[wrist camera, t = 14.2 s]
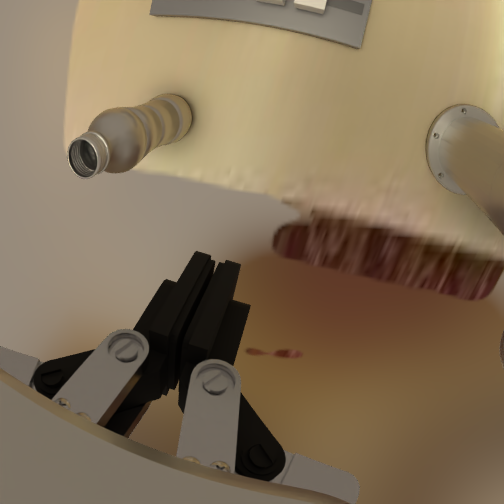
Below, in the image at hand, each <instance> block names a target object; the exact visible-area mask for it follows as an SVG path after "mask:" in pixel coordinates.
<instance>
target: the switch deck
mask: <svg viewBox="0 0 504 504" xmlns="http://www.w3.org/2000/svg"><path fill="white" fill-rule="evenodd" d="M371 2H372V0H327V2H326V6H325V10H324V14H319V13H315V12H311V11H307V10H302V9H298V8H295V5H294V0H286V2H285V6H283V5H277V4H272V3H265V2H259V1H256V0H152V5H151V10H150V15H153V16H171V17H192V18H206V19H217V20H226V21H234V22H242V23H249V24H255V25H261V26H267V27H273V28H278V29H283V30H288V31H292V32H297V33H301V34H305V35H310V36H314V37H318V38H321V39H325V40H329V41H332V42H336V43H339V44H343V45H346V46H349V47H352V48H356V49H359V48H360V47H361V43H362V39H363V35H364V31H365V27H366V23H367V19H368V15H369V10H370V6H371Z"/></svg>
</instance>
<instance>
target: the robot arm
mask: <svg viewBox="0 0 504 504" xmlns="http://www.w3.org/2000/svg"><path fill="white" fill-rule="evenodd" d="M462 109H463V111H462V112H461V110H462ZM434 133H435V136H433V134H434ZM426 155H427V161H428V164H429V167H430V170H431V172H432V173H433V175H434V177H435V178H436V179H437V181H438V182H439V183H440V184H441V185H442V186H443V187H445V188H446V189H447V190H449V191H451V192H453V193H456V194H461V195H468V196H469V197H470V198H471V200H472V201H473V202H474V203H475V204H476V205H477V206H478V207H479V208H480V209H481V210H482V211H483V212H484V213H485V215H486V216H487V217H488V218H489V219H490V220H491V221H492V222H493V223H494V225H495V226H496V227H497V228H498V229H499V230H500V231H501V233H502V234H503V235H504V130H501V129H500V128H499V126H498V125H497V123H496V121H495V120H494V119H493V118H492V117H491V116H490V114H488V113H487V112H486V111H484V110H483V109H480V108H478V107H476V106H472V105H467V104H460V105H454V106H452V107H450V108H447V109H446V110H445V111H443V112H442V113H441V114H440V115H439V116H438V117H437V118H436V119H435V121H434V122H433V124H432V126H431V128H430V130H429V133H428V137H427V142H426ZM439 173H440V175H438V174H439ZM240 266H241V264H238V263H235V262H232V261H229V260H226V261H225V263H221V262H219V264H218V266H217V268H216V270H215V272H214V267H215V261H214V260H211V256H210V255H208V254H205V253H202V252H198V251H196V252H195V253H194V255H193V256H192V258H191V260H190V261H189V263H188V265H187V266H186V268H185V270H184V271H183V273H182V274H181V276H180V278H179V279H178V281H177V282H174V281H171V280H168V279H166V280H164V281H163V283H162V284H161V286H160V287H159V289H158V291H157V292H156V294H155V295H154V297H153V298H152V300H151V302H150V303H149V305H148V306H147V308H146V309H145V311H144V313H143V314H142V316H141V318H140V319H139V321H138V322H137V324H136V326H135V327H134V329H133V330H130V329H121V330H117V331H115V332H112V333H111V334H109V336H107V337H106V338H105V339H104V340H103V341H102V343H101V344H100V345H99V346H98V347H97V348H96V349H94V350H90V351H87V352H82V353H79V354H75V355H70V356H66V357H62V358H58V359H54V360H50V361H47V362H45V363H44V362H40V360H39V359H38V358H35V357H32V356H28V355H25V354H22V353H19V352H15V351H13V350H10V349H7V348H4V347H1V346H0V504H356V501H357V498H358V495H359V488H360V487H359V483H358V480H357V479H356V478H355V477H354V475H352V474H350V473H348V472H346V471H343V470H340V469H337V468H334V467H332V466H329V465H326V464H323V463H321V462H318V461H315V460H313V459H310V458H308V457H305V456H303V455H300V454H298V453H295V454H292V453H289V452H287V451H284V450H283V448H282V447H281V445H280V444H279V443H278V441H277V440H276V439H275V437H274V436H273V435H272V434H271V432H270V431H269V430H268V428H267V427H266V426H265V425H264V423H263V422H262V421H261V419H260V418H259V417H258V415H257V414H256V412H255V411H254V410H253V408H252V407H251V406H250V404H249V403H248V402H247V400H246V399H245V397H244V396H243V395H242V393H241V392H240V391H241V379H240V376H239V373H238V371H237V370H236V369H235V368H234V367H233V365H234V361H235V358H236V355H237V351H238V348H239V344H240V341H241V337H242V334H243V330H244V327H245V324H246V320H247V317H248V313H249V310H250V306H251V305H248V304H245V303H241V302H238V301H235V300H233V296H234V292H235V287H236V283H237V279H238V275H239V271H240ZM213 272H214V274H213ZM500 358H501V362H502V365H503V368H504V331H503V334H502V337H501V341H500ZM178 381H179V400H178V401H179V402H178V405H179V407H180V408H181V410H182V412H183V414H184V416H183V422H182V427H181V433H180V438H179V444H178V450H177V456H176V457H175V456H172V455H169V454H167V453H164V452H161V451H158V450H156V449H153V448H150V447H148V446H145V445H143V444H140V443H138V442H135V441H133V440H130V439H128V438H129V436H130V434H131V433H132V432H133V430H134V429H135V427H136V426H137V424H138V423H139V422H140V420H141V419H142V417H143V415H144V414H145V413H146V411H147V410H148V408H149V406H150V405H151V402H152V401H153V400H156V399H159V398H161V395H162V394H163V395H167V393H168V391H169V389H173V390H175V388H176V386H177V384H178Z"/></svg>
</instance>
